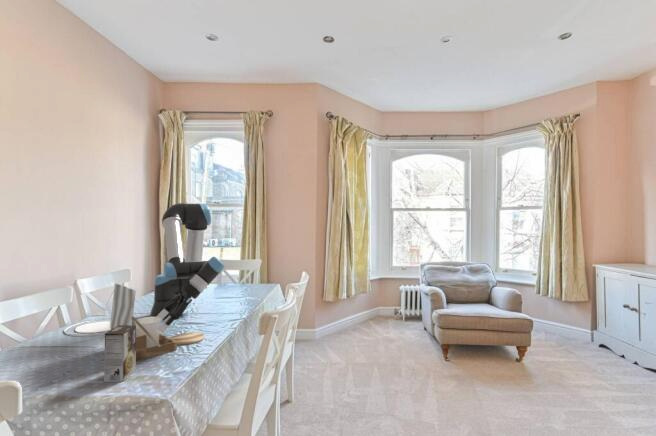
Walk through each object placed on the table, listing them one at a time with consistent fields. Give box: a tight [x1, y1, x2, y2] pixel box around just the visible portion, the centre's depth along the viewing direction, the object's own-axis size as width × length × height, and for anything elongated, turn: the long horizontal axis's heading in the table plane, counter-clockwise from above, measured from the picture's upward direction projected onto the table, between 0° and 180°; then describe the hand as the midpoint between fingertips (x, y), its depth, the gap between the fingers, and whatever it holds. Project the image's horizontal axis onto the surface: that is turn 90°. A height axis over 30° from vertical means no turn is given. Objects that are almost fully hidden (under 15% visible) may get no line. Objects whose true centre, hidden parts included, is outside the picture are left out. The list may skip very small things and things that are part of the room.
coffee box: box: [103, 325, 137, 383], centre depth 119 cm, size 9×6×16 cm
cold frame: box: [109, 282, 178, 362], centre depth 143 cm, size 22×18×27 cm
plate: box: [64, 317, 111, 337], centre depth 172 cm, size 28×28×1 cm
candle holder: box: [133, 316, 162, 348], centre depth 144 cm, size 10×10×12 cm
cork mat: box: [170, 332, 205, 346], centre depth 156 cm, size 15×15×1 cm
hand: (157, 326), depth 145 cm, fingers open, 13 cm apart
